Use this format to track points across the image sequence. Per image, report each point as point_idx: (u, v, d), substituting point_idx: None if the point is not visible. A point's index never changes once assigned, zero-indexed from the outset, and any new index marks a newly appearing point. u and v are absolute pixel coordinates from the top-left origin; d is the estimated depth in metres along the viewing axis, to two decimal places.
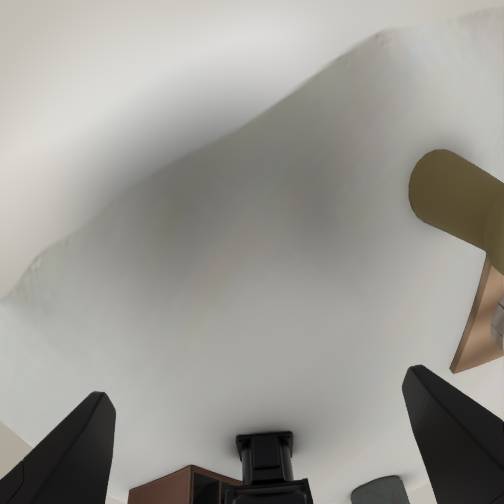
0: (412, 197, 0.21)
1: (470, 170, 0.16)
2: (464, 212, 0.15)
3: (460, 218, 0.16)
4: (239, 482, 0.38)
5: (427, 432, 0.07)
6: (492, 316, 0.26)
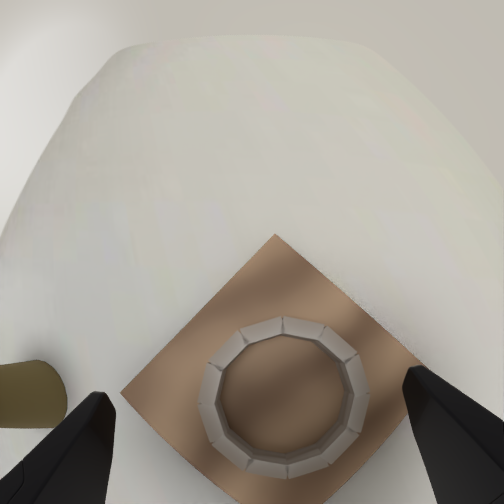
0: None
1: None
2: None
3: None
4: None
5: (427, 432, 0.07)
6: None
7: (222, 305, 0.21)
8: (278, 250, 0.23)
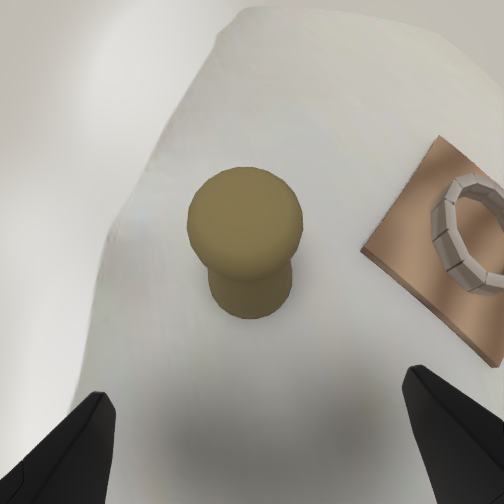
0: (228, 311, 0.22)
1: None
2: (217, 276, 0.17)
3: (224, 284, 0.17)
4: None
5: (427, 432, 0.07)
6: (458, 286, 0.21)
7: (425, 175, 0.25)
8: (444, 144, 0.26)
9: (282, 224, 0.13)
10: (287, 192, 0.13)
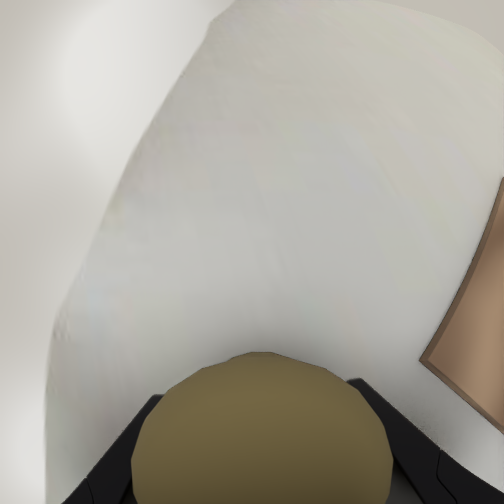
0: None
1: None
2: None
3: None
4: None
5: None
6: None
7: (500, 235, 0.16)
8: None
9: None
10: (375, 453, 0.04)
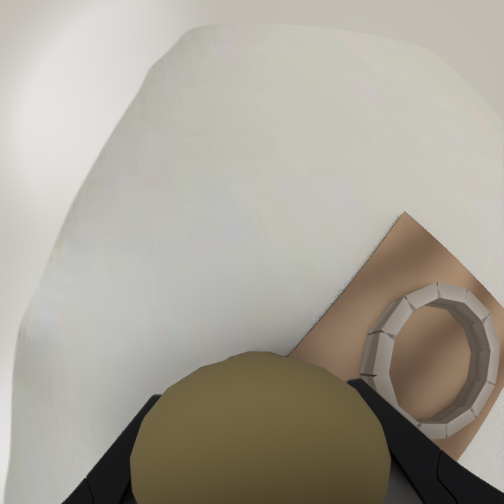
0: None
1: None
2: None
3: None
4: None
5: None
6: None
7: (370, 278, 0.21)
8: (410, 226, 0.22)
9: None
10: (373, 452, 0.04)
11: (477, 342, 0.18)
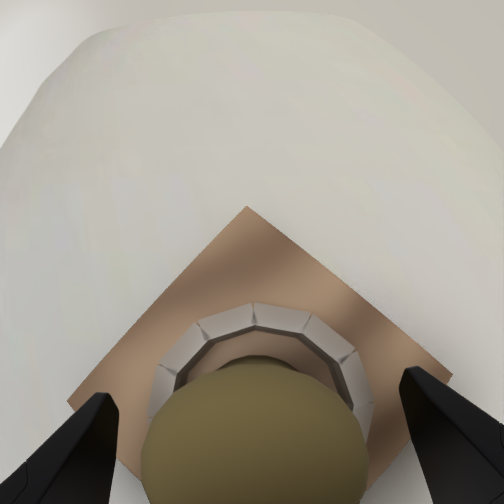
0: None
1: None
2: None
3: None
4: None
5: (423, 433, 0.07)
6: None
7: (181, 294, 0.17)
8: (251, 225, 0.18)
9: None
10: (350, 451, 0.05)
11: (341, 389, 0.14)
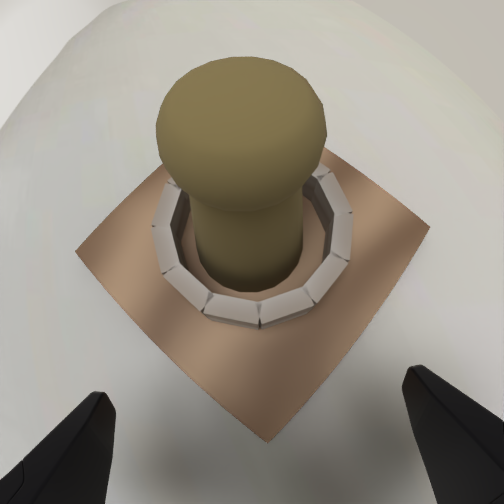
0: (220, 282, 0.17)
1: None
2: (202, 220, 0.12)
3: (212, 231, 0.12)
4: None
5: (427, 432, 0.07)
6: (193, 309, 0.17)
7: None
8: None
9: (298, 113, 0.08)
10: (303, 80, 0.08)
11: (324, 212, 0.17)
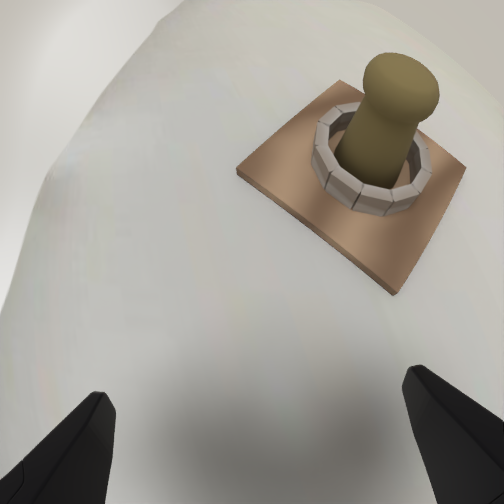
0: None
1: None
2: (372, 132, 0.19)
3: (376, 139, 0.20)
4: None
5: (427, 432, 0.07)
6: (339, 203, 0.24)
7: (313, 110, 0.28)
8: (344, 87, 0.29)
9: (433, 82, 0.15)
10: None
11: (409, 150, 0.25)
